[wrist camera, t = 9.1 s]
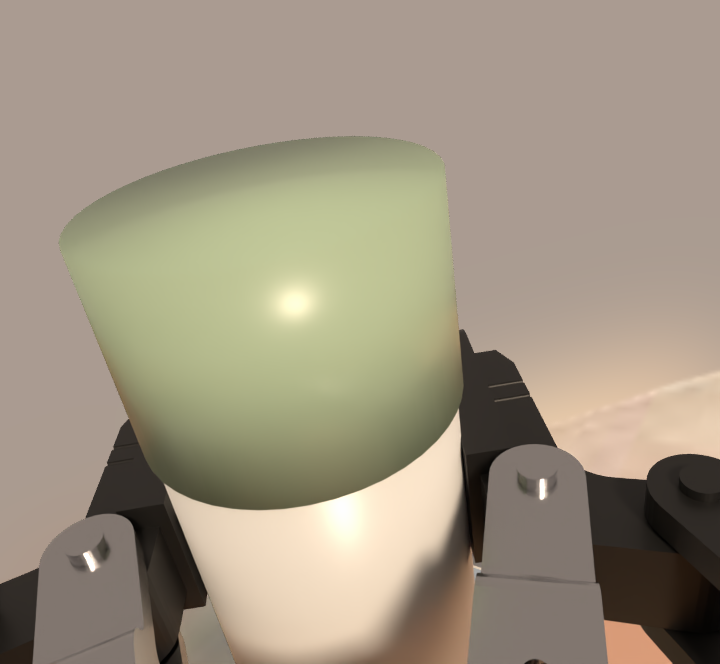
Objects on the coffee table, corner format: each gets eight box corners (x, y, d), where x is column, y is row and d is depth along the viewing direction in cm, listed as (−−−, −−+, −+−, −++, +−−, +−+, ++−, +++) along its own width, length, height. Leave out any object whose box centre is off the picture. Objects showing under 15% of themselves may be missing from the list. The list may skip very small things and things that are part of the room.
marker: (232, 788, 14) (-25, 252, 8) (348, 610, 17) (233, 136, 11) (436, 924, 11) (298, 304, 5) (525, 686, 14) (503, 136, 8)
